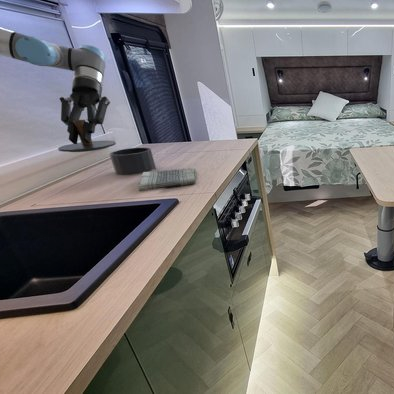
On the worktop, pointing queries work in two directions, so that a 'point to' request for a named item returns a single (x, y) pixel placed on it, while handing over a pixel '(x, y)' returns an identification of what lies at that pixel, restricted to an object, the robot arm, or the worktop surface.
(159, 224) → the worktop surface
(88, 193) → the worktop surface
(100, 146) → the pot lid
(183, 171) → the dish towel
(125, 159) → the pot
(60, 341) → the worktop surface
